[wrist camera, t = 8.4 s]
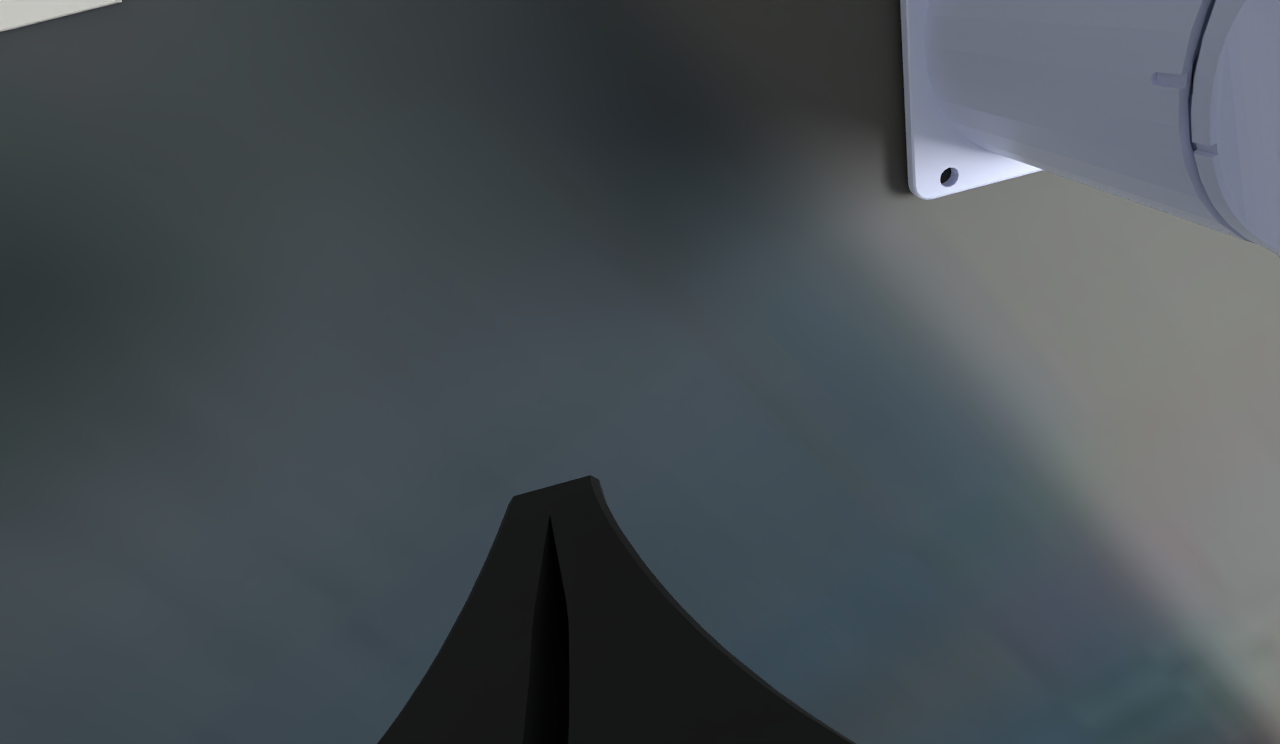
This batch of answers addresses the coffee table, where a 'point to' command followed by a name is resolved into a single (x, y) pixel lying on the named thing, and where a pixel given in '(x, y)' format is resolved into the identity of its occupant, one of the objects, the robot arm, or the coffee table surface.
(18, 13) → the felt pad
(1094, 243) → the coffee table surface
